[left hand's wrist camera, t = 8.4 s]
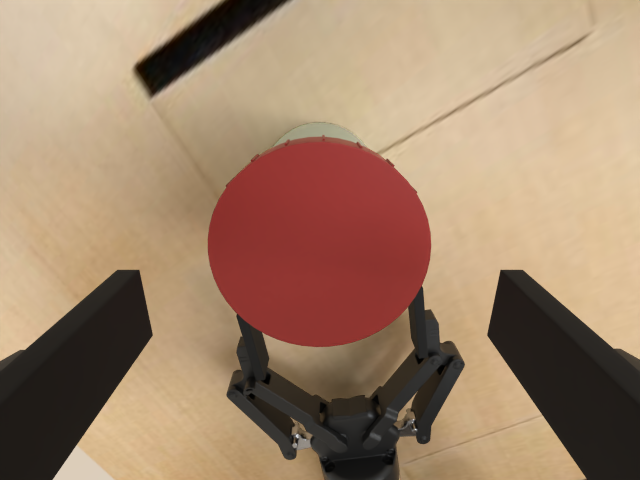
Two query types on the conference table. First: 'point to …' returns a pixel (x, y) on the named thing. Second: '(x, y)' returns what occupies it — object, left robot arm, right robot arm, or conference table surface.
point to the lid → (319, 242)
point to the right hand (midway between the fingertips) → (327, 292)
